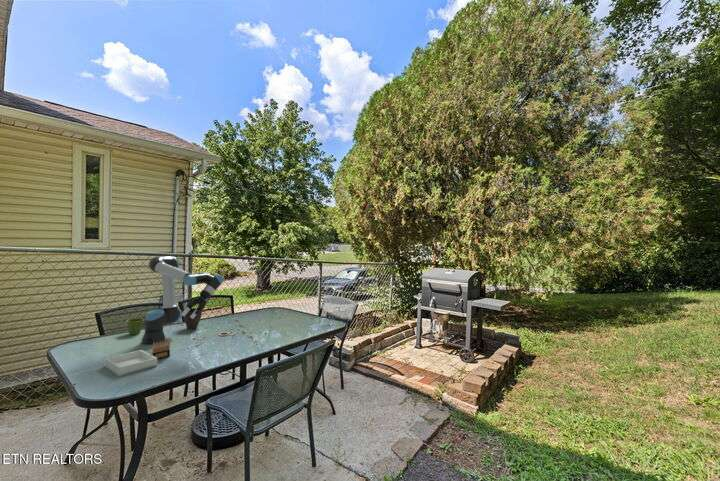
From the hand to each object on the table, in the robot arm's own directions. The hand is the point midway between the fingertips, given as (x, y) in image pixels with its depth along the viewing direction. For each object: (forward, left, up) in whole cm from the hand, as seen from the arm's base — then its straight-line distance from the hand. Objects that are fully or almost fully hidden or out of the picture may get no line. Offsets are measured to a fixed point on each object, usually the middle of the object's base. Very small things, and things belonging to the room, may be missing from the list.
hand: (186, 316), depth 224 cm
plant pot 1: (-67, -6, -25) cm, 71 cm away
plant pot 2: (-51, +32, -25) cm, 65 cm away
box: (+1, -34, -25) cm, 42 cm away
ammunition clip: (+1, -17, -25) cm, 30 cm away
